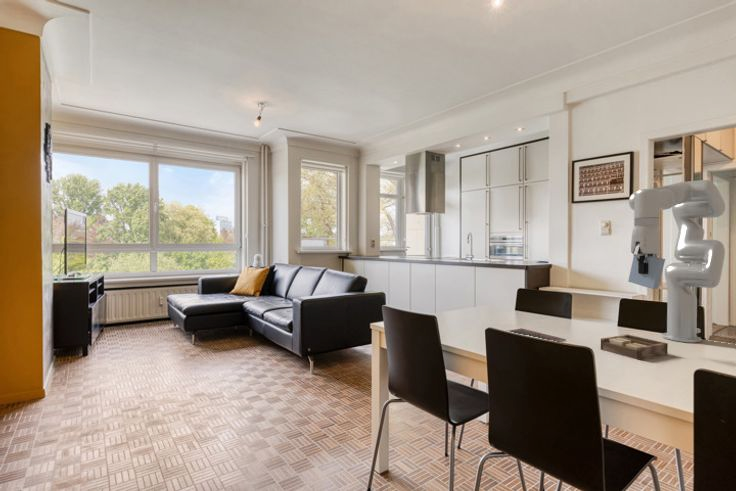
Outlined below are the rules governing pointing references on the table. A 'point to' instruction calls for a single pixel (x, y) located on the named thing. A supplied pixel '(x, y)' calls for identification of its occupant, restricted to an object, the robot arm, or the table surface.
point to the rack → (641, 353)
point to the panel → (653, 275)
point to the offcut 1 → (620, 341)
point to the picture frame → (537, 334)
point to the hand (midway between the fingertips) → (646, 273)
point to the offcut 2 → (634, 345)
